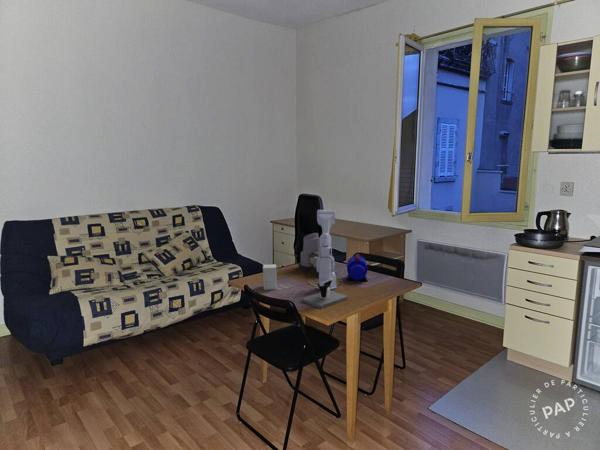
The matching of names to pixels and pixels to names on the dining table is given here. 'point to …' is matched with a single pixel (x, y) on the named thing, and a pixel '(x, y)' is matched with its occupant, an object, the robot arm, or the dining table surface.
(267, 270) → the supplement box
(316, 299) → the post board
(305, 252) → the juicer
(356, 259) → the alarm clock
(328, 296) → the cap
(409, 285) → the dining table surface
